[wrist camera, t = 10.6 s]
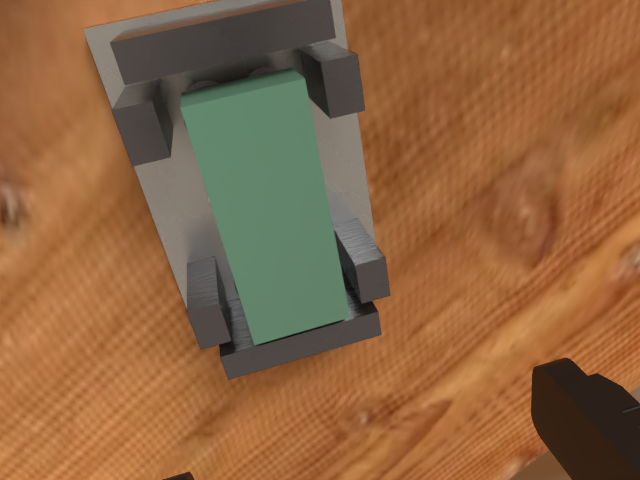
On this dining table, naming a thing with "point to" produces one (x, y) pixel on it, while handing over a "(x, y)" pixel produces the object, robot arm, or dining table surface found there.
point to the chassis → (184, 174)
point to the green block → (269, 200)
